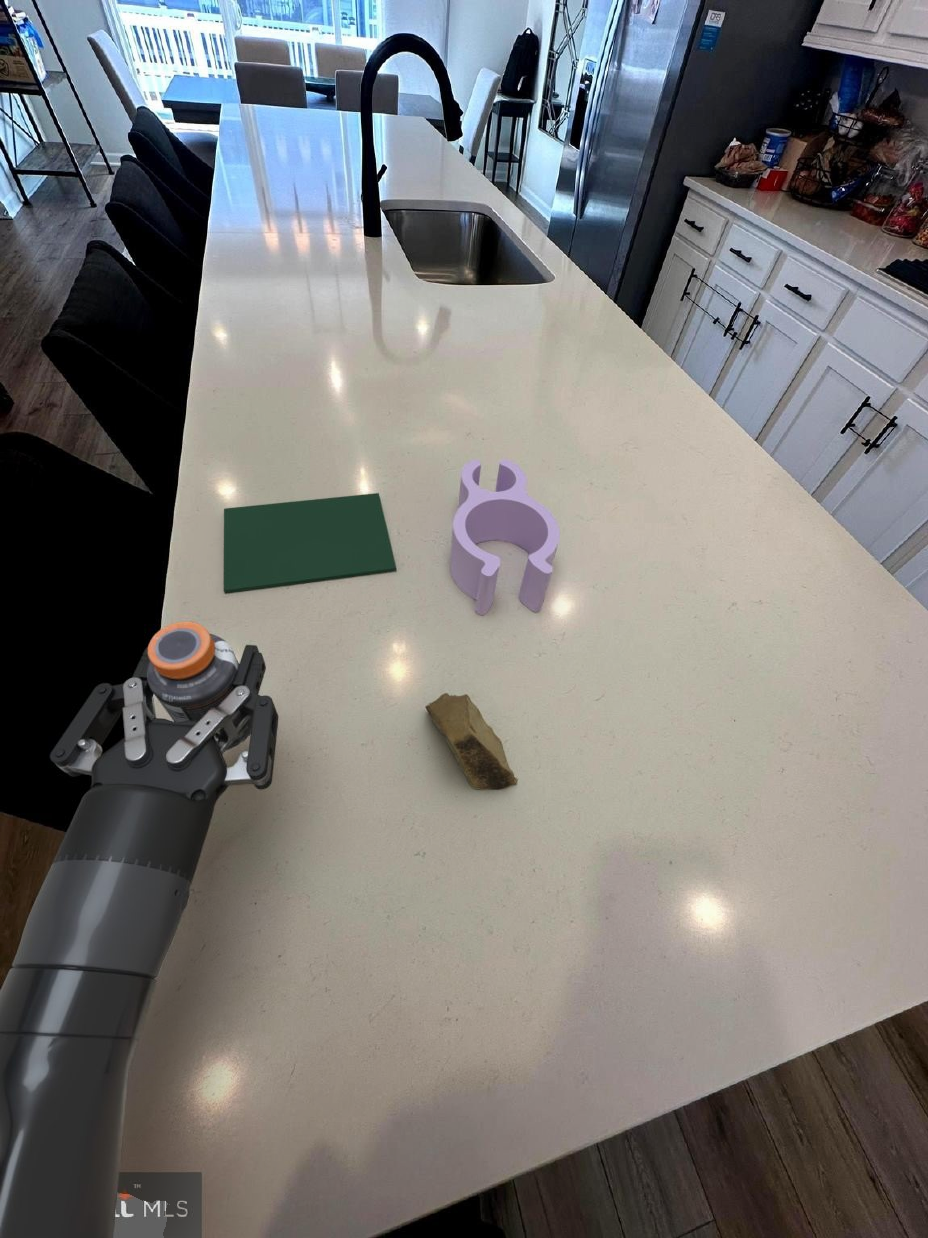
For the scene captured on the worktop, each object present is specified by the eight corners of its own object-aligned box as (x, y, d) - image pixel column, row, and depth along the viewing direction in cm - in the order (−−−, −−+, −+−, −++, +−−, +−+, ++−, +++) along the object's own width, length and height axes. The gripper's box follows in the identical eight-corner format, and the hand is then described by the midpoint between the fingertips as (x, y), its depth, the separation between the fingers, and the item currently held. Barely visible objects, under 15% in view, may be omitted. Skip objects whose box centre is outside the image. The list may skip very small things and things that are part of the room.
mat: (224, 593, 64) (223, 590, 64) (225, 511, 72) (223, 508, 72) (396, 571, 69) (396, 567, 68) (378, 496, 77) (378, 492, 76)
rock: (398, 691, 56) (402, 782, 49) (452, 642, 52) (465, 734, 45) (477, 723, 62) (491, 808, 55) (532, 681, 57) (555, 768, 50)
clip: (439, 501, 77) (441, 459, 71) (527, 499, 79) (536, 458, 73) (457, 616, 65) (461, 577, 60) (560, 610, 67) (573, 572, 61)
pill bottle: (261, 686, 49) (229, 605, 40) (258, 749, 45) (221, 676, 36) (188, 693, 48) (138, 612, 39) (179, 758, 44) (122, 685, 35)
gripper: (230, 874, 30) (297, 625, 40) (-46, 857, 29) (93, 609, 40) (258, 902, 36) (311, 679, 46) (29, 889, 35) (133, 665, 46)
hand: (210, 647), depth 43 cm, fingers closed on pill bottle, 6 cm apart
